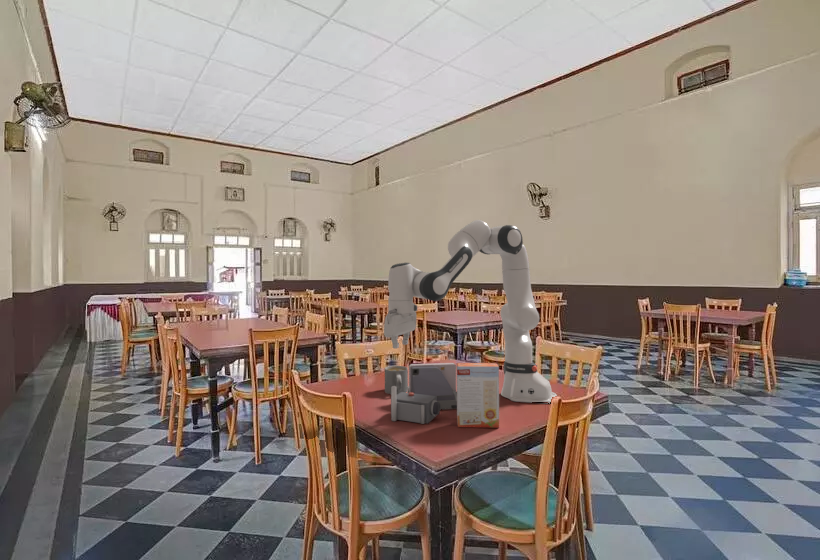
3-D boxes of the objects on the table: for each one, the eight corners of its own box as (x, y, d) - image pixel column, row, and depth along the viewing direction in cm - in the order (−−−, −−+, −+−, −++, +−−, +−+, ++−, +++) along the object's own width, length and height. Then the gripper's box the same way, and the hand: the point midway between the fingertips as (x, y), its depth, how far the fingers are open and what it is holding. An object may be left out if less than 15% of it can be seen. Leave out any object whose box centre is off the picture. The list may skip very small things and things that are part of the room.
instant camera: (458, 395, 184) (458, 360, 183) (462, 412, 163) (462, 372, 162) (407, 395, 184) (407, 359, 184) (406, 411, 164) (406, 371, 163)
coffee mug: (385, 388, 194) (385, 365, 194) (407, 387, 194) (407, 365, 194) (383, 397, 181) (383, 373, 181) (407, 397, 181) (407, 373, 181)
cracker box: (496, 422, 152) (497, 362, 151) (499, 428, 146) (499, 366, 145) (456, 421, 152) (456, 361, 152) (457, 427, 146) (457, 365, 146)
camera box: (441, 416, 158) (441, 394, 158) (433, 424, 149) (433, 401, 149) (401, 410, 164) (401, 389, 164) (390, 418, 156) (390, 396, 156)
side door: (425, 422, 150) (424, 388, 150) (421, 425, 148) (421, 391, 148) (394, 418, 155) (393, 385, 155) (390, 420, 153) (390, 387, 152)
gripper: (396, 311, 146) (396, 352, 147) (419, 305, 165) (419, 342, 166) (379, 310, 149) (379, 350, 149) (404, 305, 168) (404, 341, 168)
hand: (400, 346), depth 158 cm, fingers open, 7 cm apart
